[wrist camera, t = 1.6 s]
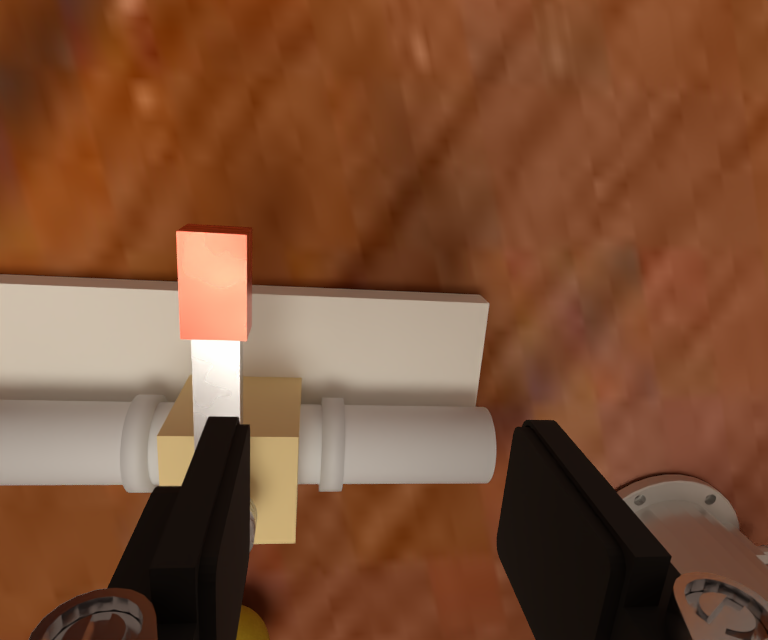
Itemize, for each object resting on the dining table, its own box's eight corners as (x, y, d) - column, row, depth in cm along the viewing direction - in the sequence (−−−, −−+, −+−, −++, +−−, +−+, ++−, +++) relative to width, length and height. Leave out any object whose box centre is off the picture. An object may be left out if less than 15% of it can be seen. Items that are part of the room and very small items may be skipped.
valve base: (480, 294, 35) (546, 355, 25) (458, 463, 38) (508, 575, 28) (-7, 273, 31) (-159, 335, 21) (18, 462, 35) (-101, 592, 25)
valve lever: (257, 542, 26) (253, 570, 24) (190, 543, 25) (181, 571, 24) (260, 228, 21) (255, 235, 20) (179, 223, 21) (167, 230, 19)
